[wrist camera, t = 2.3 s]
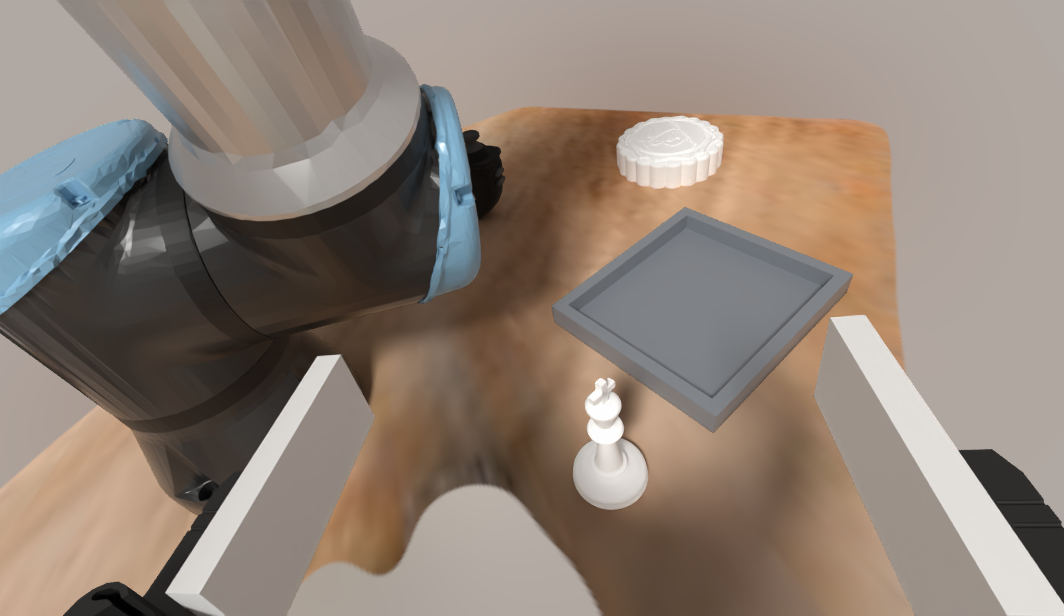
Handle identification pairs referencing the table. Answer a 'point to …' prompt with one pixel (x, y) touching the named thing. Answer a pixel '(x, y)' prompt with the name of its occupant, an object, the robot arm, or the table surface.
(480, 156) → the controller
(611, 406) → the chess piece
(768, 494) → the table surface
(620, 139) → the mooncake
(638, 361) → the tray
